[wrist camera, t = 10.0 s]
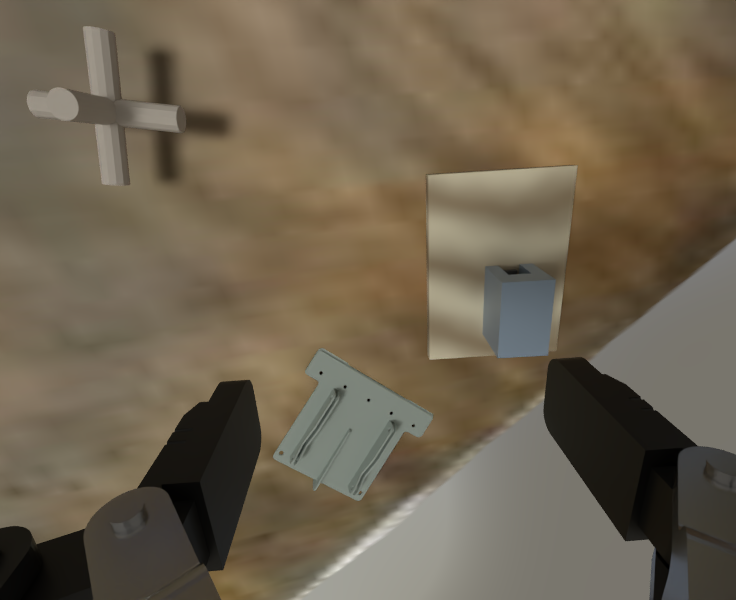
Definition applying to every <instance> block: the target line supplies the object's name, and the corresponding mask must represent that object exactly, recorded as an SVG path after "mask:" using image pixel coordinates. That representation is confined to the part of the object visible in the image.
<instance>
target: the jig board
mask: <svg viewBox="0 0 736 600" xmlns="http://www.w3.org/2000/svg"><path fill="white" fill-rule="evenodd" d="M577 166H578V165H564V166H548V167H533V168H517V169H502V170H487V171H471V172H456V173H440V174H426V244H427V347H428V357H429V359H430V360H433V359H447V358H461V357H475V356H490V355H495V353H494V351H493V350H492V348H491V347H490V345H489V344H488V342H487V340H486V339H485V337H484V336H483V334H482V332H483V307H484V283H485V266H499V267H500V268H501V269H503V270H504V271H505V272H506V273H507V274H508V275H514V274H519V264H534V265H535V266H537V267H538V268H540V269H541V270H543V271H544V272H546V273H547V274H549V275H550V276H551V277H553V278H554V279H556V283H555V293H554V303H553V312H552V322H551V331H550V341H549V350H548V351H556V349H557V341H558V332H559V323H560V315H561V306H562V297H563V288H564V280H565V271H566V262H567V254H568V245H569V236H570V227H571V219H572V210H573V201H574V193H575V184H576V175H577Z"/></svg>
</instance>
